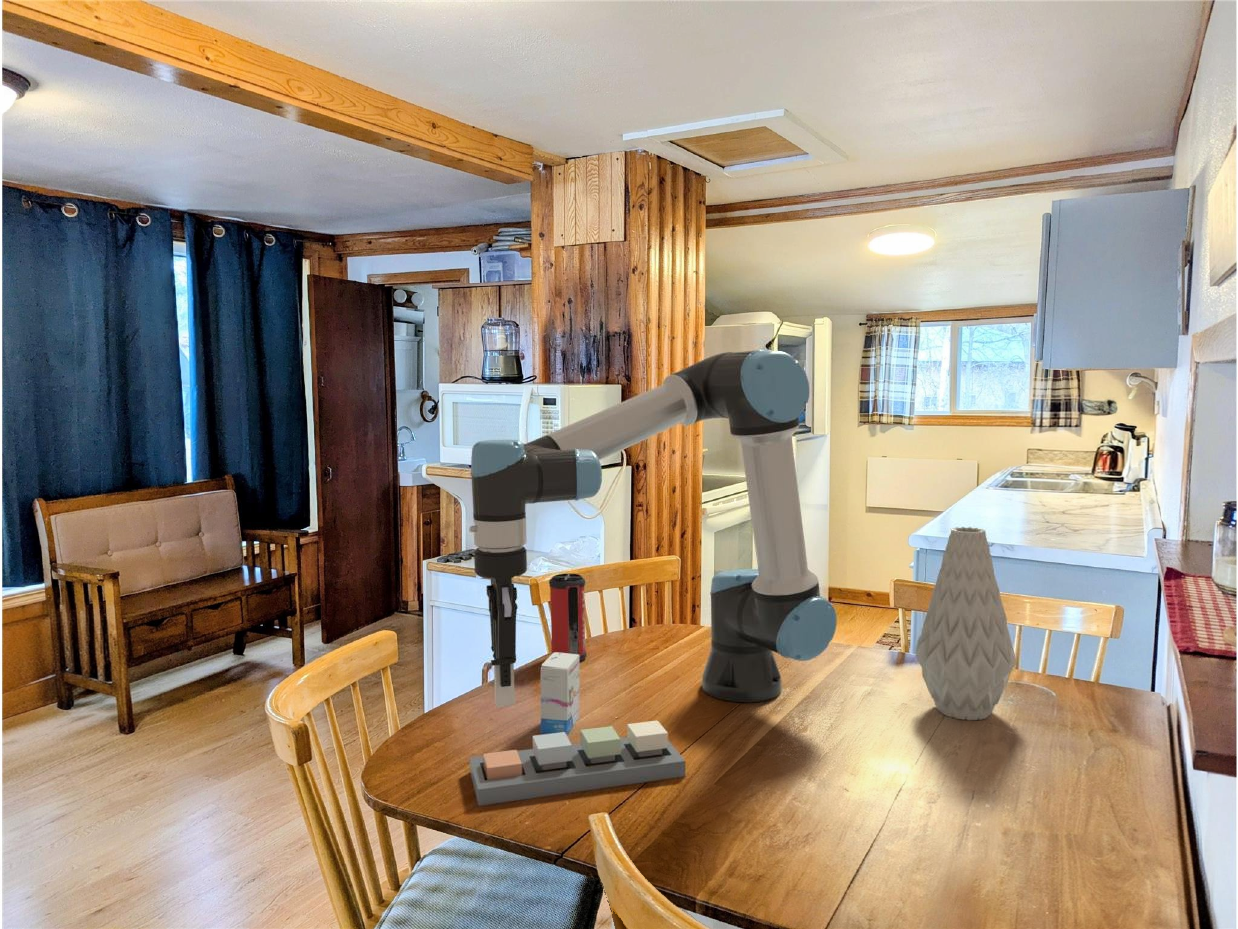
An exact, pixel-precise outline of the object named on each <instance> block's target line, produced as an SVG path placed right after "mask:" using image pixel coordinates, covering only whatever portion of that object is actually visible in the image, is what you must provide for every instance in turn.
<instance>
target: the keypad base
mask: <svg viewBox="0 0 1238 929" xmlns="http://www.w3.org/2000/svg"><path fill="white" fill-rule="evenodd" d="M620 739H621V754H618V755H615V761H614V762H609V763H604V764H597V765H589V766H586V765H588V764H592V763H591V761H590V759H589V758H588V757H587V755H586V753H585V751H584V750H583V748H582V746H581V742H578V743H571V744H572V761H567V769H560V770H553V771H545V772H539V773H538V772H536V771H544V770H543V769H542V767H541V765H539V764H538V762H537V760H536V757H535V755H534V753H533V748H529V749H523V750H521V749H520V750H517V752H518V755H519V758H520V760H521V763H522V776H514V777H507V778H499V779H492V780H487V779H486V780H485V778H486V775H485V772H484V759H483V754H482V755H475V756H474V755H473V756H469V767H470V768H469V772H470V777H471V781H472V785H473V789H474V792H475V797H476V802H477V806H478V807H479V806H487V805H494V804H500V803H508V802H514V801H521V800H522V801H523V800H529V799H530V800H531V799H535V798H543V797H550V796H556V795H557V796H558V795H564V794H571V793H576V792H577V793H578V792H584V791H591V790H599V789H605V788H612V787H619V786H620V787H621V786H626V785H634V784H640V783H641V784H642V783H647V782H654V781H661V780H668V779H676V778H683V777H686V760H685V758H684V757H683V756H682V755H681V754H680V752H679V751H678V750H677V749H676V748H675V747H674V745H673V744H672V742H671V741H670V740H669V739H668V748H663V749H662V754H659V755H660V756H657V757H654V756H653V757H649V758H640V757H639V755H638V754H637V753H636V751H635V750H634V748H633V746H632V745H631V743H630V742H629V741H628V739H627V736H625V737H620ZM634 758H640V759H634Z"/></svg>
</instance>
